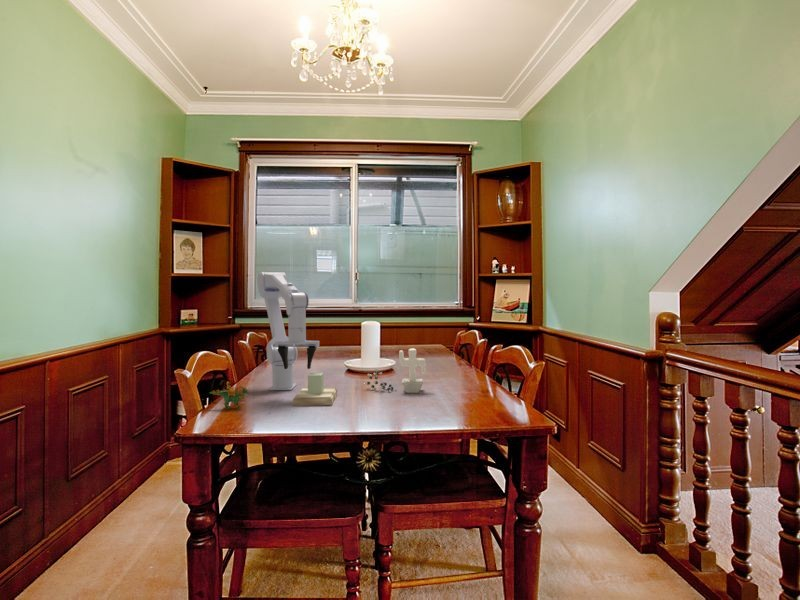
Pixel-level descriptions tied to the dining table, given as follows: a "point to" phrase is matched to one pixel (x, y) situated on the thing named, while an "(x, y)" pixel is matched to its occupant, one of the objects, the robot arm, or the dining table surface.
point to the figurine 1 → (231, 395)
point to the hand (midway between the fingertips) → (297, 368)
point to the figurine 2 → (412, 370)
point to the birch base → (315, 397)
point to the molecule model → (378, 383)
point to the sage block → (315, 383)
